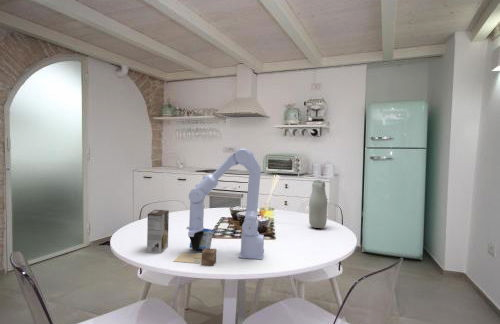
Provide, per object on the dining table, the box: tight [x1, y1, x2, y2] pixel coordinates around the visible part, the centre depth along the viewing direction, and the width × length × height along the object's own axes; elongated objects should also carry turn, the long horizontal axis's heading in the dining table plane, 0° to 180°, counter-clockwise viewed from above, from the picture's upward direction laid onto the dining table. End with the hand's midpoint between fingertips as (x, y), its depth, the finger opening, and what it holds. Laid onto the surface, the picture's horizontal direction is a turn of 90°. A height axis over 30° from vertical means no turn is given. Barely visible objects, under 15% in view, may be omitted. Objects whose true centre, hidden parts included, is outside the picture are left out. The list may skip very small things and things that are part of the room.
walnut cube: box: [200, 248, 217, 267], centre depth 114 cm, size 4×4×5 cm
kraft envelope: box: [172, 252, 202, 264], centre depth 119 cm, size 10×10×1 cm
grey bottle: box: [308, 179, 328, 229], centre depth 175 cm, size 10×10×28 cm
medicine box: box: [189, 227, 214, 251], centre depth 130 cm, size 8×4×9 cm, turn 69°
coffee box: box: [146, 209, 170, 254], centre depth 128 cm, size 9×6×16 cm
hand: (195, 249), depth 126 cm, fingers closed
